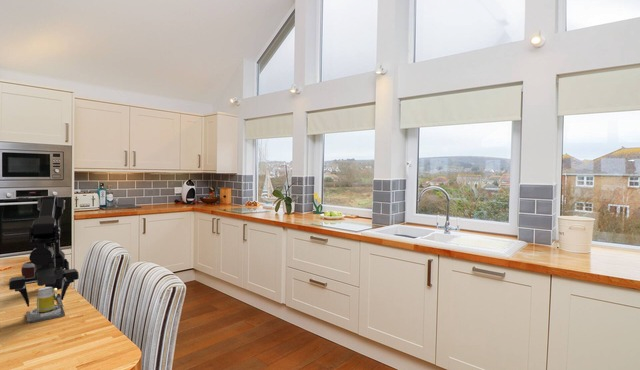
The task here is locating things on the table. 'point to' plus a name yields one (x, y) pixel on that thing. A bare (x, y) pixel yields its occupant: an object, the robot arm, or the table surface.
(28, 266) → the mate gourd
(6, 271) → the table surface
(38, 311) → the supplement bottle
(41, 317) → the grey handled tray
